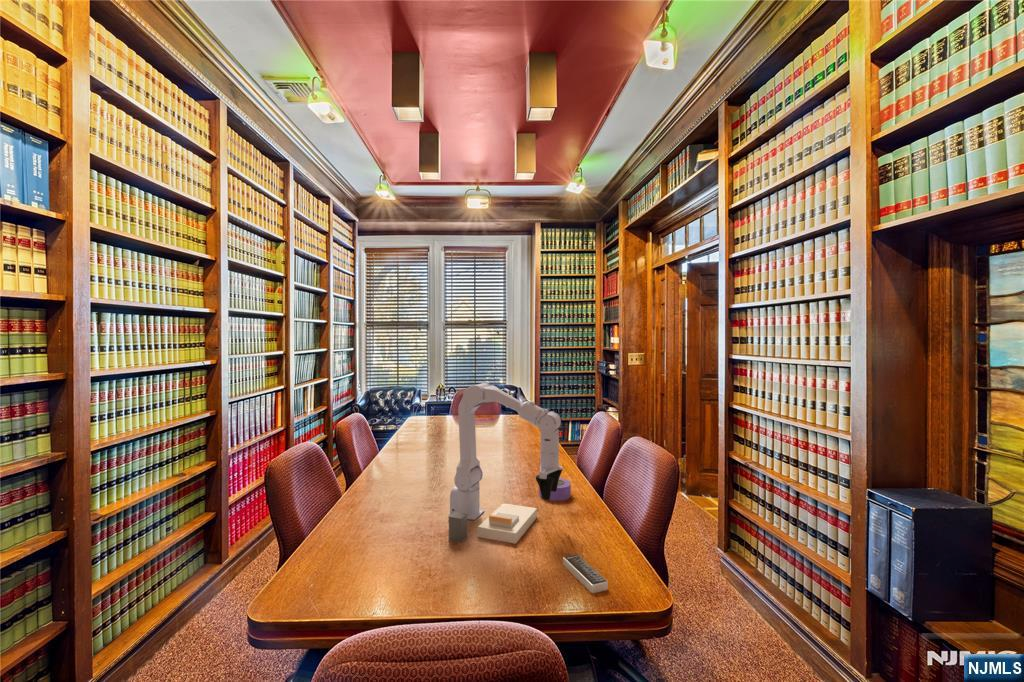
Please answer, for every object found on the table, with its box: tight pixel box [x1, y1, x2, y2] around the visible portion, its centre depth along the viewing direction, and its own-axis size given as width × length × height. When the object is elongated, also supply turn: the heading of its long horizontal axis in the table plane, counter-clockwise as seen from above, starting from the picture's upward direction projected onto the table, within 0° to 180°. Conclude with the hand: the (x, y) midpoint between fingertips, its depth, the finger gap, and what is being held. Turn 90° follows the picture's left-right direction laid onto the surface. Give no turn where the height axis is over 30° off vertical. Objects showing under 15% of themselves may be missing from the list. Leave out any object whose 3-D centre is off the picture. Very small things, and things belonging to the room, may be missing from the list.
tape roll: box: [538, 477, 572, 502], centre depth 168 cm, size 12×12×5 cm
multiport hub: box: [562, 553, 609, 594], centre depth 112 cm, size 4×14×2 cm, turn 22°
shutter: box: [488, 513, 519, 528], centre depth 137 cm, size 7×7×3 cm
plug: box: [448, 512, 468, 544], centre depth 132 cm, size 4×4×7 cm
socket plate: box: [477, 503, 538, 544], centre depth 141 cm, size 12×20×3 cm, turn 159°
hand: (549, 495), depth 140 cm, fingers open, 7 cm apart
